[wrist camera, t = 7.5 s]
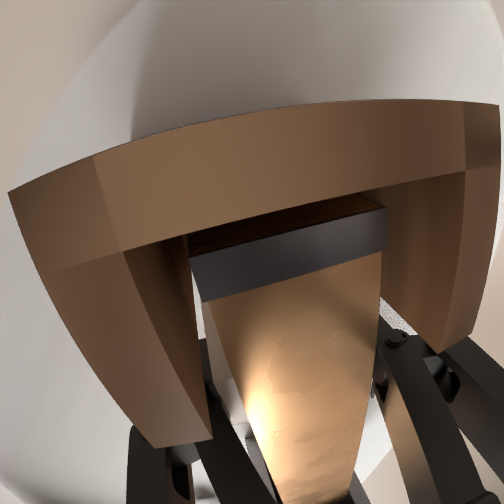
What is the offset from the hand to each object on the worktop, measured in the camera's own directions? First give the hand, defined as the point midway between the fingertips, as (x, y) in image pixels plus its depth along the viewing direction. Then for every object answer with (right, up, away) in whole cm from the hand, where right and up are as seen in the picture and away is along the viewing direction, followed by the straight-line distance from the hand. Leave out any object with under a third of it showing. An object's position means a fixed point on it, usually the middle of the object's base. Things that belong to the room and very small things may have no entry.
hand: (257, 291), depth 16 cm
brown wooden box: (-1, +5, -2) cm, 6 cm away
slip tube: (+1, -4, 0) cm, 4 cm away
